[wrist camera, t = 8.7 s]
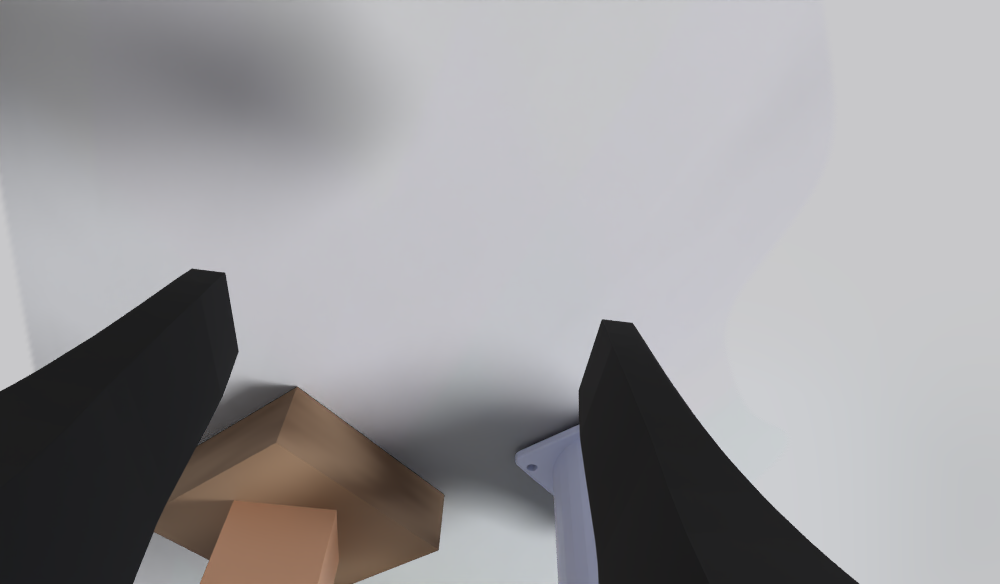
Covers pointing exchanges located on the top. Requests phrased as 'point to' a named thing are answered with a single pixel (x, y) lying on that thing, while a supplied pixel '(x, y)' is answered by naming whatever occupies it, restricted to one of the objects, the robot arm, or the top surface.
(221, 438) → the walnut plinth
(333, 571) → the terracotta block
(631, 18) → the top surface
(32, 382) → the robot arm
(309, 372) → the top surface
